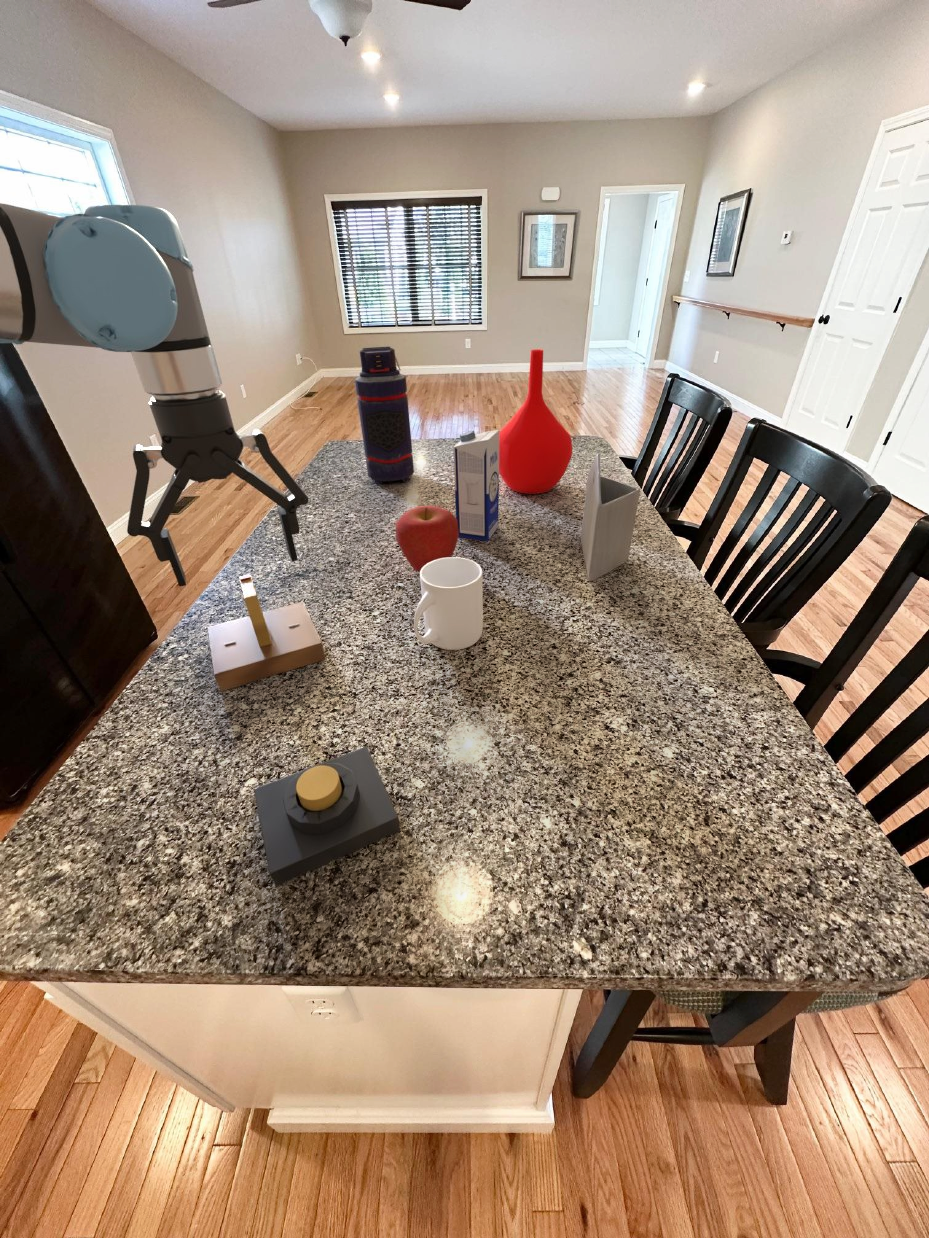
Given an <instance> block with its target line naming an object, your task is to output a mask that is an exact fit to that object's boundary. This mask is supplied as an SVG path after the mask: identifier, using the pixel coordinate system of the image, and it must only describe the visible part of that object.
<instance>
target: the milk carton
mask: <svg viewBox="0 0 929 1238" xmlns="http://www.w3.org/2000/svg"><path fill="white" fill-rule="evenodd" d="M499 432H500V429H495V430H494V429H493V430H487V431H483V432H480V433H479V432H478V433H475V431H474V430H470V431H467V432H463V433H461V434H459V439H460V441H458V442H457V443H456V444H454V446H452V451H453V452H452V453H453V455H452V456H453V476H454V477H453V478H454V501H455V504H454V505H455V517H456V518H457V522H458V531H459V536H458V538H461V539H462V538H463V539H470V540H476V541H483V542H489V541H490V539H491V538H492V536H493V535H494V534H495V533H496V532H497V530H498V529H499V512H500V511H499V507H500V505H499V503H500V501H499V500H500V495H499V494H500V492H499V491H500V474H499Z"/></svg>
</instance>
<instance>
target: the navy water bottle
mask: <svg viewBox="0 0 929 1238" xmlns="http://www.w3.org/2000/svg"><path fill="white" fill-rule="evenodd" d="M359 357H360V365H361V371H360V372H359V376H357V377H355V378H354V386H355V394H356V395H357V398H356V400H357V408H358V415H359V422H360V429H361V437H362V443H363V449H364V456H365V464H366V471H367V476H368V477H369V478H370V479H371V480H373V481H374V484H376V485H383V482H395V481H396V482H397V481H401V480H402V481H403V483H407V482H409V481H410V480H411V477H412V475H413V474H414V473H415V466H414V457H413V454H412V453H413V445H412V433H411V421H410V410H409V399H408V398H409V397H408V394H407V392H408V387H407V377H406V375H405V374H402V373H401V366H400V364H399V361H398V359H397V356H396V352H395V348H393V347H391V346H376V347H375V346H373V347H362V349H361V350H360V351H359Z"/></svg>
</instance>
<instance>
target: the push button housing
mask: <svg viewBox="0 0 929 1238" xmlns="http://www.w3.org/2000/svg"><path fill="white" fill-rule="evenodd" d="M316 766H329V767H332V768H333V769H335V770H336V771H337V773H338V775H339V779H340V783H341V787H342V792H341V795H340V798H339V799H338V801H337V802H336V803H335V804H334V805H333V806H331V807H330V808H328V809H325V810H322V811H310V810H307V809H306V808H304V807H303V806H302V804H301V802H300V799H299V797H298V794H297V791H296V785H297V781H298V779H299V778H300V776H301V775H302V774H303V773H304V772H306V771H307V770H309V769H311V768H313V767H316ZM253 793H254V798H255V803H256V809H257V814H258V819H259V825H260V830H261V835H262V841H263V845H264V846H263V847H264V850H265V851H264V852H265V856H266V861H267V867H268V872H269V875H270V878H271V879H272V882H273V884H274V886H275V887H278V886H280V885H283V884H284V883H287V882H289V881H291V880H293V879H296V878H298V877H300V876H303V875H305V874H307V873H310V872H311V871H314V870H316V869H318V868H320V867H323V866H324V865H326V864H329V863H331V862H333V861H336V860H339V859H340V858H342V857H345V856H347V855H349V854H351V853H354V852H356V851H358V850H361V849H363V848H364V847H367V846H369V845H371V844H374V843H376V842H378V841H380V840H382V839H384V838H387V837H389V836H391V835H394V834H395V833H398V832H400V831H401V826H400V825H401V824H400V819H399V816H398V813H397V811H396V808H395V806H394V804H393V802H392V800H391V798H390V796H389V793H388V790H387V788H386V786H385V784H384V781H383V779H382V777H381V775H380V773H379V771H378V768H377V766H376V764H375V761H374V760H373V757H372V755H371V752H370V750H369V748H368V746H364V747H361V748H359V749H356V750H353V751H349V752H347V753H345V754H342V755H340V756H337V757H334V758H332V759H329V760H326V761H324V762H319V763H317V764H314V765H312V766H309V767H305V768H304V769H302V770H300V771H298V772H295V773H292V774H290V775H286V776H284V777H281V778H279V779H276V780H273V781H271V782H268V783H265V784H262V785H260V786H257V787H255V788H253Z"/></svg>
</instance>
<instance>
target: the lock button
mask: <svg viewBox="0 0 929 1238" xmlns="http://www.w3.org/2000/svg"><path fill="white" fill-rule="evenodd" d="M296 791H297V794H298V797H299V799H300V802H301V804H302V806H303V807H304V808H306V809H307V810H310V811H322V810H325V809H328V808H330V807H331V806H333V805H334V804H335V803H336V802H337V801H338V799H339V798H340V795H341V792H342V787H341V783H340V779H339V775H338V773H337V771H336V770H335V769H333V768H332V767H329V766H316V767H313V768H311V769H309V770H307V771H306V772H304V773H303V774H302V775H301V776H300V778H299V779H298V781H297V785H296Z"/></svg>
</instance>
